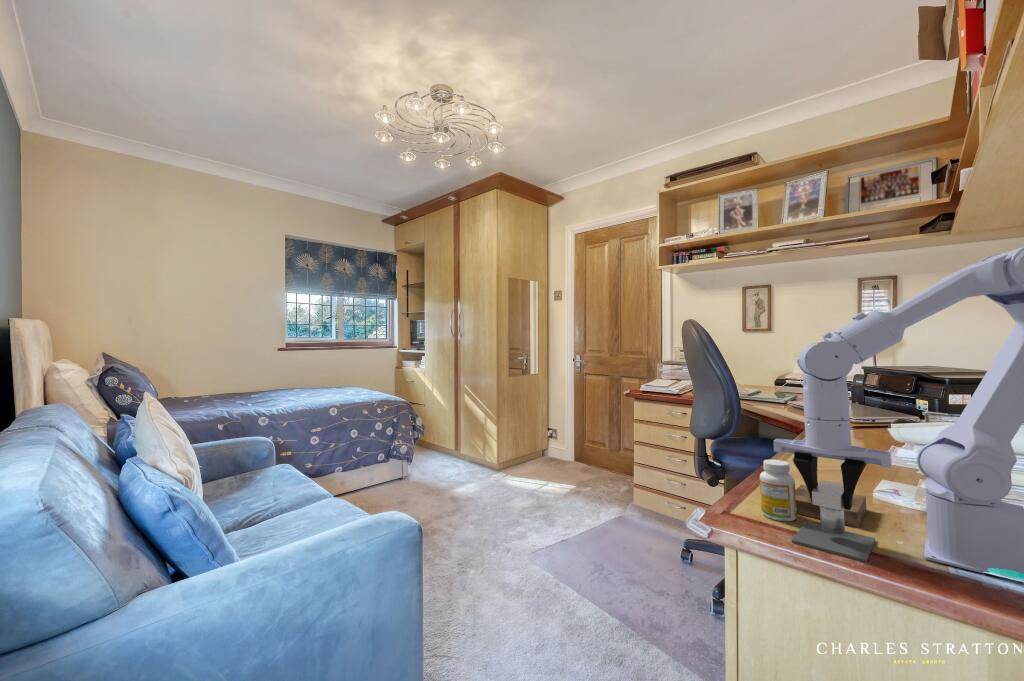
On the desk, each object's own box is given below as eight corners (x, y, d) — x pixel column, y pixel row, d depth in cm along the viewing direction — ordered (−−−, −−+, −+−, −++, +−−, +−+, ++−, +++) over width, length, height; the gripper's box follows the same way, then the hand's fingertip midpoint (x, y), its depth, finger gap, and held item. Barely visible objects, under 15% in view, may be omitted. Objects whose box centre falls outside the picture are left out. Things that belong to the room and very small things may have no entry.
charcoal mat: (875, 540, 64) (874, 537, 64) (866, 562, 58) (866, 559, 58) (805, 524, 71) (805, 521, 71) (791, 542, 64) (791, 539, 64)
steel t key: (842, 540, 61) (840, 496, 61) (814, 533, 63) (811, 491, 63) (850, 525, 65) (848, 484, 66) (823, 519, 68) (821, 480, 68)
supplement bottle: (776, 508, 78) (773, 456, 78) (804, 519, 73) (801, 464, 73) (754, 512, 76) (751, 460, 76) (781, 524, 71) (778, 467, 71)
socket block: (866, 509, 75) (865, 496, 75) (858, 527, 68) (857, 512, 69) (801, 496, 83) (800, 484, 83) (788, 511, 76) (787, 498, 76)
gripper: (891, 418, 62) (896, 508, 62) (780, 410, 73) (784, 487, 72) (886, 426, 57) (891, 523, 57) (768, 416, 68) (772, 498, 68)
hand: (831, 504), depth 64 cm, fingers closed on steel t key, 3 cm apart
